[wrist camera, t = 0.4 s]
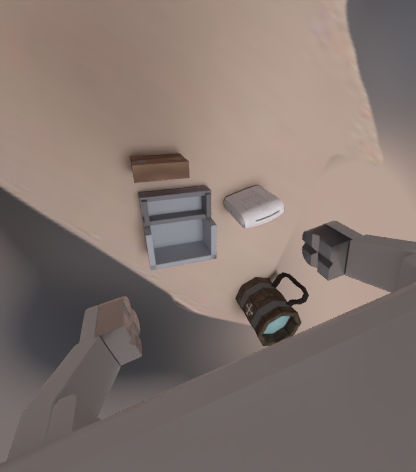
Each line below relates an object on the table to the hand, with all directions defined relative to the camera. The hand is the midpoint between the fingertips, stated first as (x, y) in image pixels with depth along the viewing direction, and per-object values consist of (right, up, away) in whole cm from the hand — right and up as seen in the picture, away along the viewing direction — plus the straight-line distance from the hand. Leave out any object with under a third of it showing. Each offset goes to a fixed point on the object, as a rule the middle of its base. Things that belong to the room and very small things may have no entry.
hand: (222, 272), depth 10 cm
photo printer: (+8, +11, +49) cm, 51 cm away
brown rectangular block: (-11, +17, +39) cm, 44 cm away
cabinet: (-8, +5, +47) cm, 48 cm away
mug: (+16, -15, +67) cm, 70 cm away
